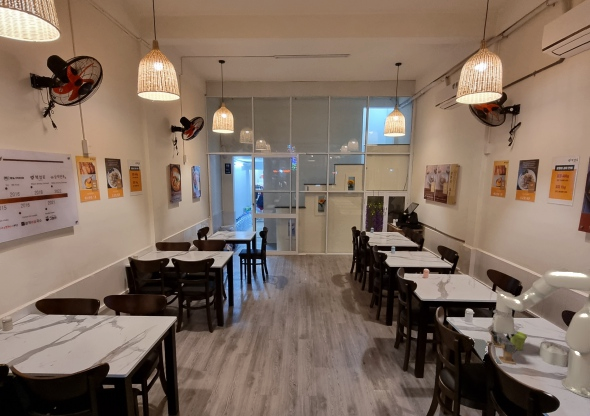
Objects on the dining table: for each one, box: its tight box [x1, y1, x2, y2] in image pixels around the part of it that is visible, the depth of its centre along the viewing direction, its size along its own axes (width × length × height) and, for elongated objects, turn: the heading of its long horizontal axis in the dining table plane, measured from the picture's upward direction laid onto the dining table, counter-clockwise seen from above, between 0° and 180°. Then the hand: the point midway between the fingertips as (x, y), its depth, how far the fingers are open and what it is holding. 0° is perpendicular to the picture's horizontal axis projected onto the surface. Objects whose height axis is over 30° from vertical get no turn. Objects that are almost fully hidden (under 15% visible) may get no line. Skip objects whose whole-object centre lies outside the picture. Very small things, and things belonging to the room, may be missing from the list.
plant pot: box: [510, 330, 528, 351], centre depth 171 cm, size 9×9×9 cm
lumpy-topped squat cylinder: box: [539, 341, 568, 368], centre depth 160 cm, size 10×13×9 cm
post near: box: [498, 343, 517, 366], centre depth 158 cm, size 5×6×9 cm
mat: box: [473, 337, 502, 364], centre depth 168 cm, size 24×9×1 cm, turn 166°
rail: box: [491, 329, 516, 354], centre depth 165 cm, size 22×4×4 cm, turn 166°
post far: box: [486, 330, 502, 349], centre depth 173 cm, size 5×6×9 cm
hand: (501, 342), depth 165 cm, fingers open, 5 cm apart
